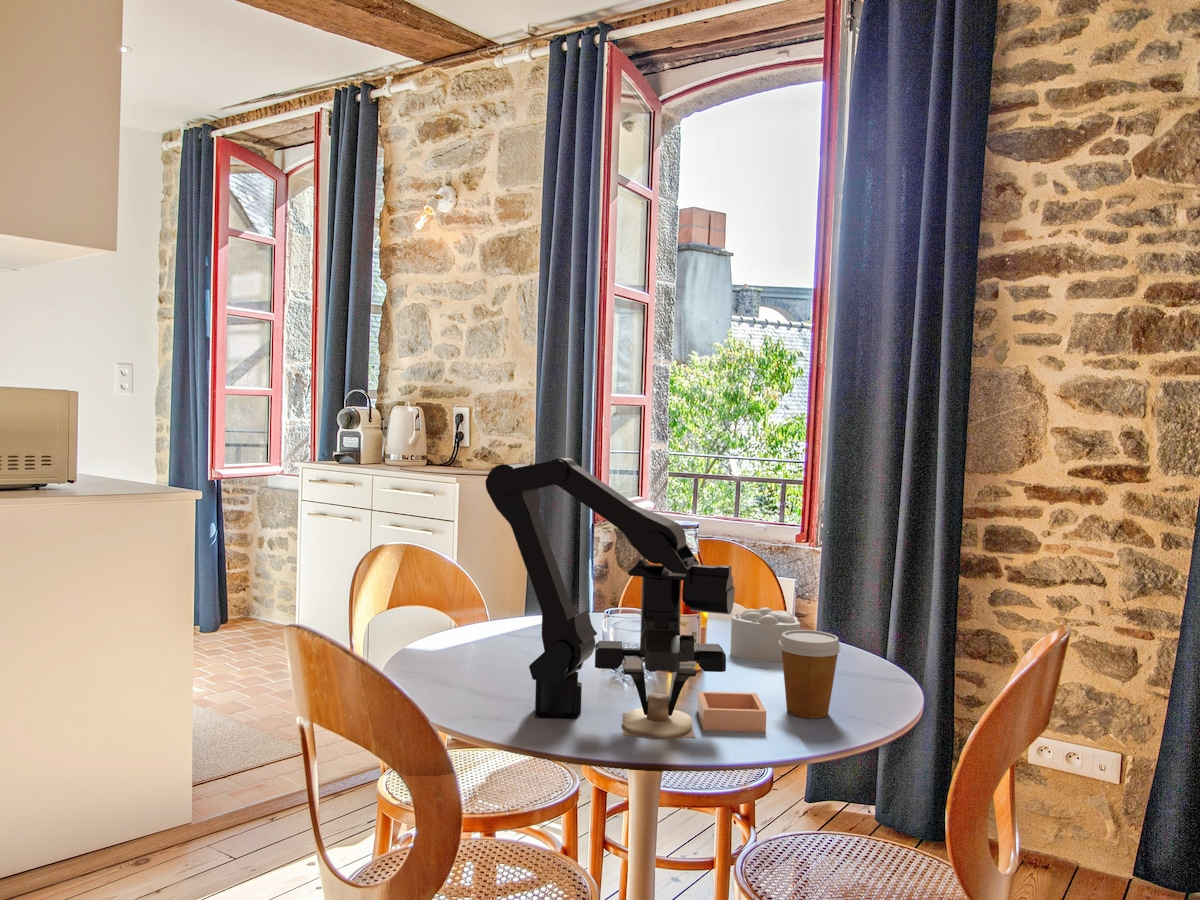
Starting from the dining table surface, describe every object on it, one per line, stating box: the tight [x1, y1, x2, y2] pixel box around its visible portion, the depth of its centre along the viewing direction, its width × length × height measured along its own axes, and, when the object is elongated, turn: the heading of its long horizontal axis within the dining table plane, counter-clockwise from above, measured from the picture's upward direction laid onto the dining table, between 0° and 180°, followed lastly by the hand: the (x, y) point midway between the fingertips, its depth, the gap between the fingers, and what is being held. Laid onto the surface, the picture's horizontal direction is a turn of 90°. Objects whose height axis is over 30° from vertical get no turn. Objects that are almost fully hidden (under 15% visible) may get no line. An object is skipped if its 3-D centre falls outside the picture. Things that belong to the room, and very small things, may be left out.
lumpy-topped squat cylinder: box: [730, 607, 802, 664], centre depth 180 cm, size 10×13×9 cm
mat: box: [622, 712, 696, 739], centre depth 135 cm, size 10×10×1 cm
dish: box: [696, 691, 767, 733], centre depth 138 cm, size 9×9×4 cm
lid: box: [622, 692, 693, 738], centre depth 135 cm, size 10×10×4 cm
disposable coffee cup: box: [779, 629, 842, 719], centre depth 144 cm, size 10×10×12 cm
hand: (657, 714), depth 135 cm, fingers closed on lid, 3 cm apart
